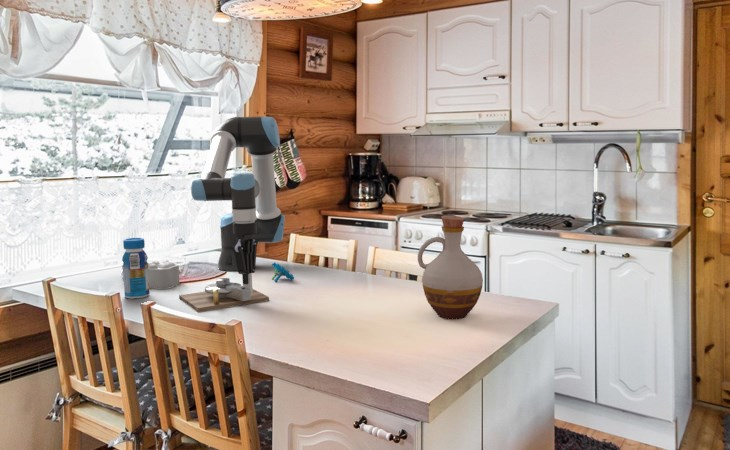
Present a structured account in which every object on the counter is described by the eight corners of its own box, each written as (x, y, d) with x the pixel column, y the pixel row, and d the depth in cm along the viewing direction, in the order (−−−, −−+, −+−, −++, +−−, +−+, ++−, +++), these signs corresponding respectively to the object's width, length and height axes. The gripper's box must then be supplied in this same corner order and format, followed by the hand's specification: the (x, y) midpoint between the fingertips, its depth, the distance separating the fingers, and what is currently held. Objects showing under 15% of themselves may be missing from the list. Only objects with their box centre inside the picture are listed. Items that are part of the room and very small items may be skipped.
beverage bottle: (118, 298, 206) (114, 240, 203) (136, 292, 214) (132, 236, 211) (138, 300, 203) (134, 241, 200) (155, 294, 211) (152, 237, 208)
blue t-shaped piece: (299, 278, 226) (279, 261, 223) (289, 290, 224) (270, 273, 221) (288, 276, 236) (269, 260, 233) (279, 288, 234) (260, 272, 231)
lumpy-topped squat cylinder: (166, 289, 218) (164, 265, 217) (136, 287, 222) (134, 264, 221) (183, 283, 228) (181, 260, 227) (154, 280, 232) (152, 258, 231)
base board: (179, 298, 204) (178, 289, 204) (246, 288, 217) (245, 280, 217) (197, 311, 188) (197, 302, 187) (269, 300, 201) (268, 291, 200)
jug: (409, 320, 176) (409, 218, 172) (425, 305, 193) (425, 212, 188) (476, 327, 169) (477, 221, 165) (487, 310, 186) (488, 214, 182)
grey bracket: (198, 294, 202) (197, 279, 201) (228, 287, 211) (227, 273, 210) (230, 304, 189) (230, 288, 188) (261, 296, 198) (261, 282, 197)
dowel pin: (213, 303, 193) (212, 290, 192) (217, 302, 194) (217, 289, 193) (214, 304, 191) (214, 291, 191) (219, 304, 192) (219, 290, 192)
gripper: (243, 218, 201) (247, 287, 204) (223, 224, 189) (227, 297, 192) (264, 219, 199) (267, 288, 202) (245, 224, 187) (248, 298, 190)
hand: (247, 293), depth 197 cm, fingers closed
